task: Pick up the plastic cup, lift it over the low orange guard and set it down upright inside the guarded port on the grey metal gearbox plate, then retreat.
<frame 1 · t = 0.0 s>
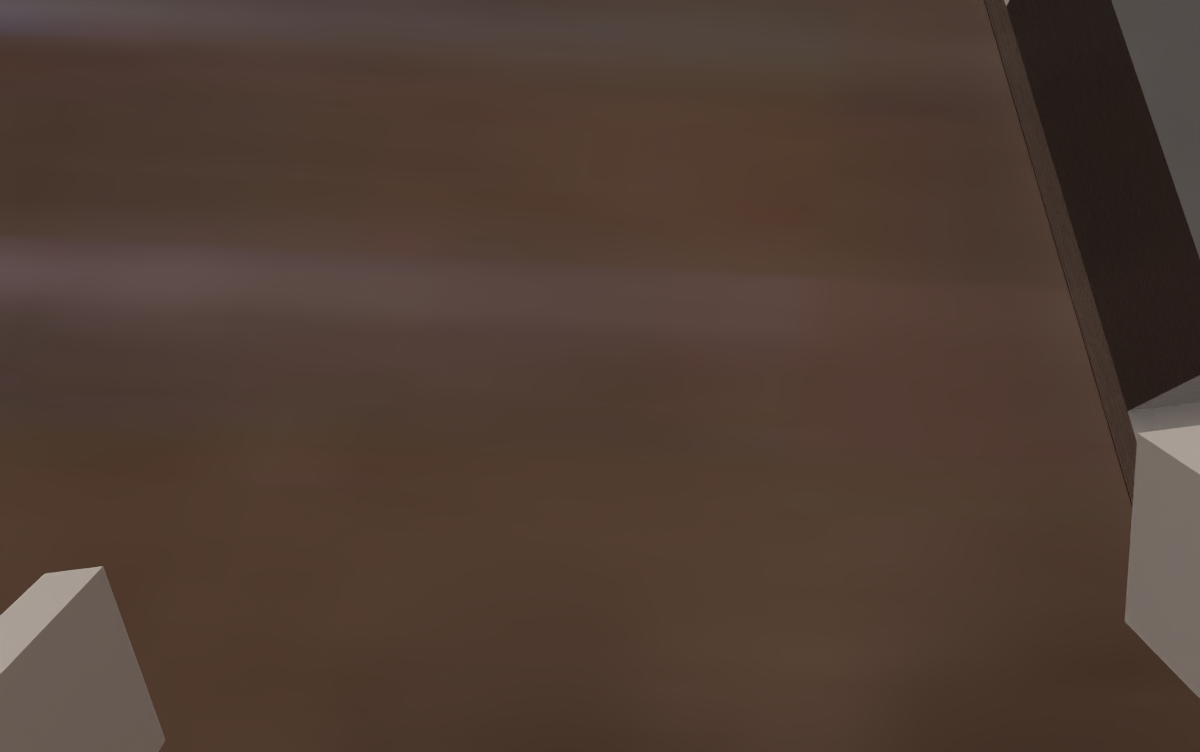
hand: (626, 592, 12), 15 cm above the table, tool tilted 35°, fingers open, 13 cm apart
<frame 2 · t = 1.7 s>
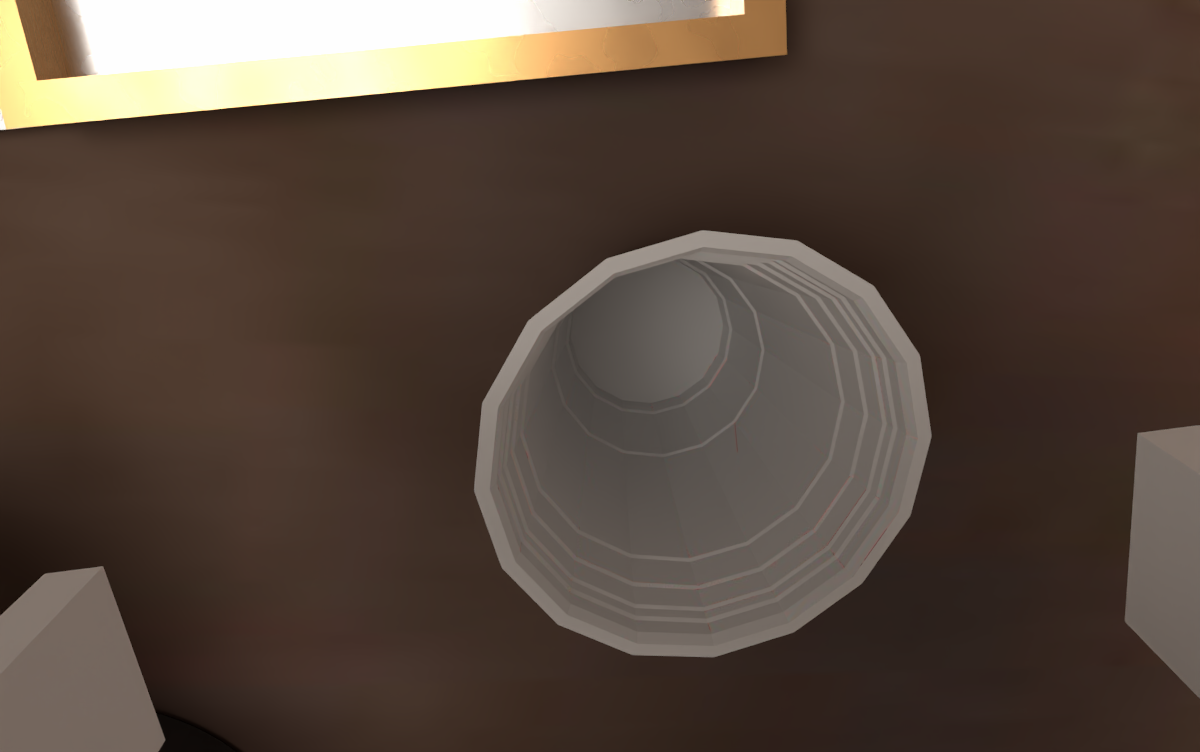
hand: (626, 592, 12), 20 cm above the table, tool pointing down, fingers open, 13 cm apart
plastic cup: (652, 330, 32), on the table
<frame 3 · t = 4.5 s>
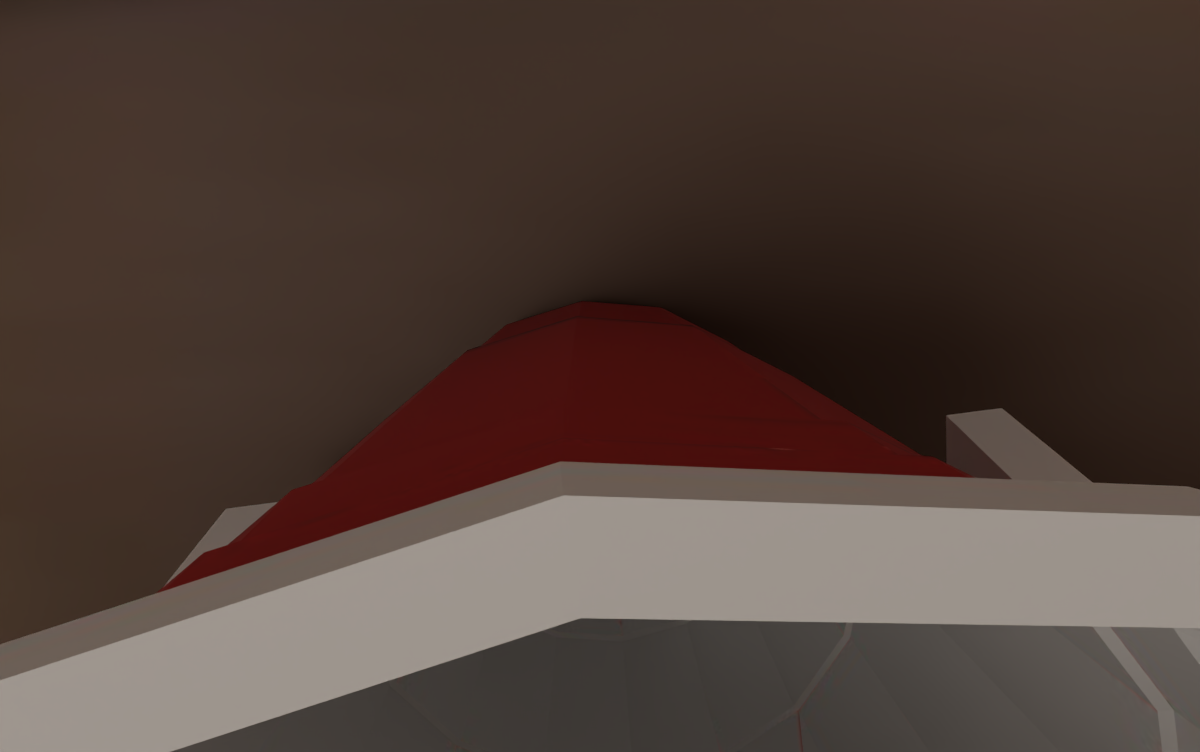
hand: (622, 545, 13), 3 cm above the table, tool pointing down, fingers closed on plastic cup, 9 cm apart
plastic cup: (615, 464, 15), on the table, touching gripper
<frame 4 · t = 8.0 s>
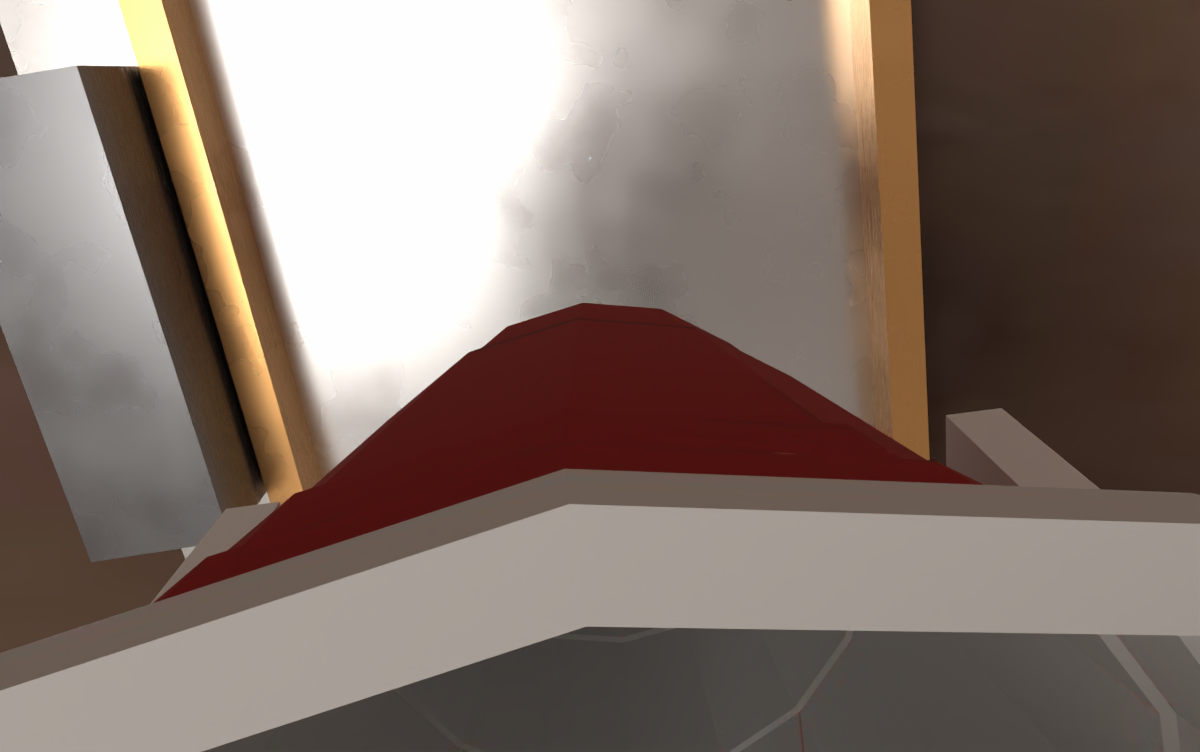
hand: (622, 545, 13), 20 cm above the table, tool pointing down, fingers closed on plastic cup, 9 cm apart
plastic cup: (616, 465, 15), point 17 cm above the table, touching gripper
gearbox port: (561, 225, 31), on the table
when the fingers open (4 cm above the table, at t = 11.4 s): plastic cup moves 3 cm, resting on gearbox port.
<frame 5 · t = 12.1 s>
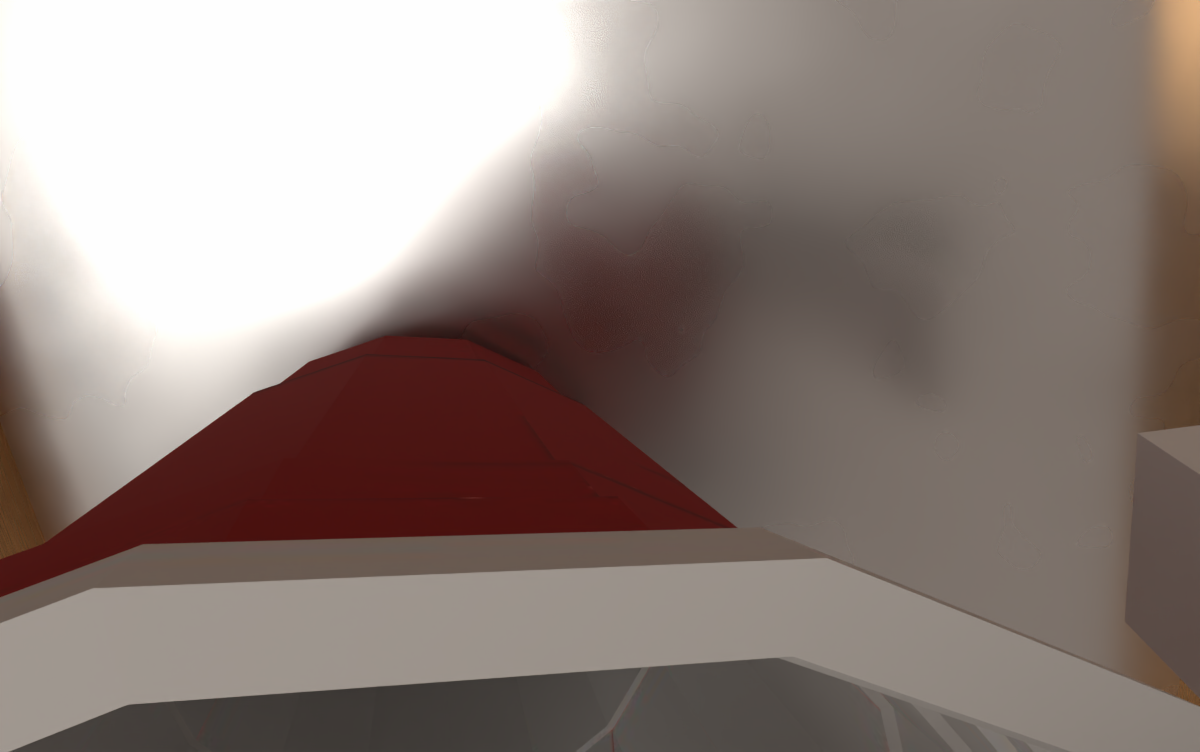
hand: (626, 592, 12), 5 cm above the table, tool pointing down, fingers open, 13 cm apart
plastic cup: (433, 496, 15), point 1 cm above the table, touching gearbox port, gripper
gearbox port: (613, 434, 17), on the table
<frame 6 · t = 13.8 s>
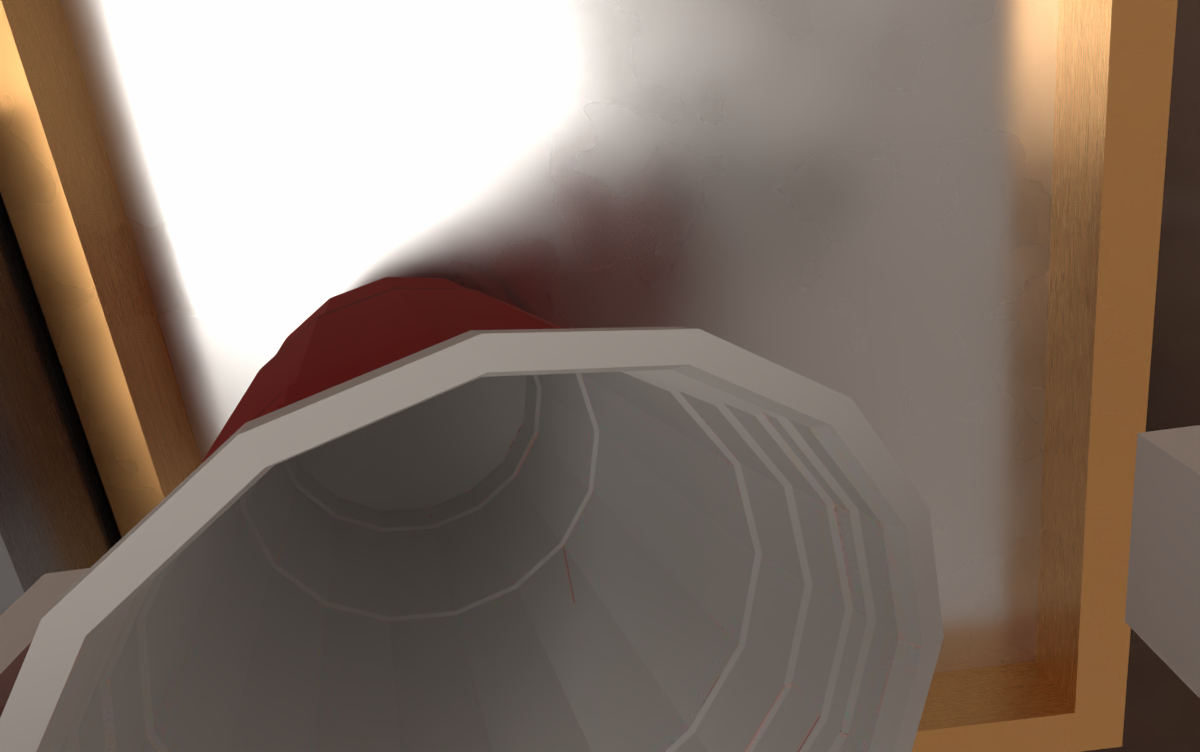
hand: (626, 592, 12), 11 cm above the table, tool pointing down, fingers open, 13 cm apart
plastic cup: (416, 398, 20), point 2 cm above the table, touching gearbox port
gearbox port: (609, 337, 22), on the table
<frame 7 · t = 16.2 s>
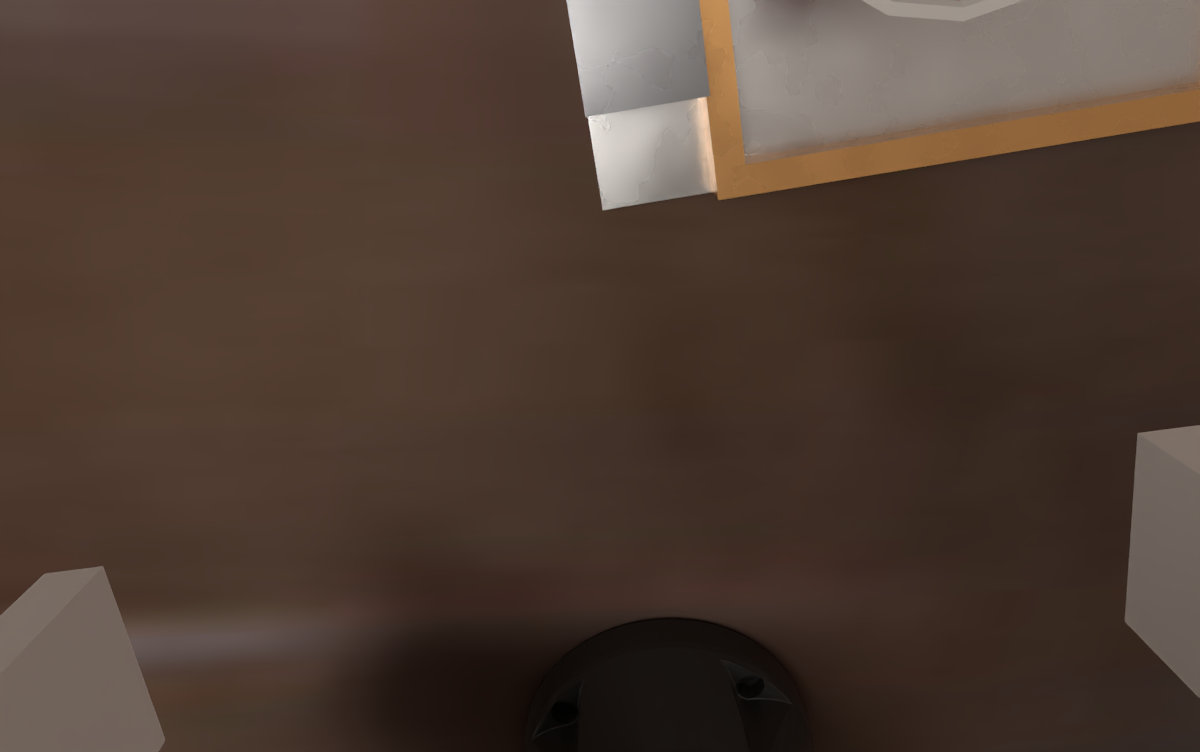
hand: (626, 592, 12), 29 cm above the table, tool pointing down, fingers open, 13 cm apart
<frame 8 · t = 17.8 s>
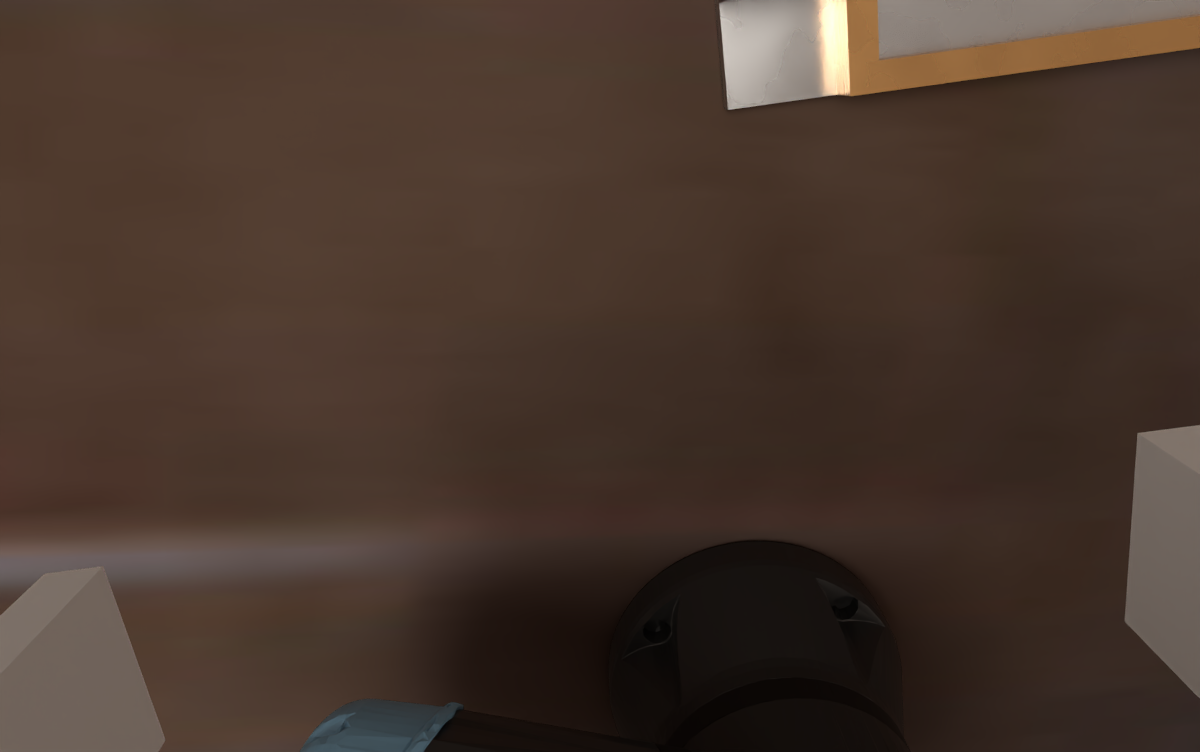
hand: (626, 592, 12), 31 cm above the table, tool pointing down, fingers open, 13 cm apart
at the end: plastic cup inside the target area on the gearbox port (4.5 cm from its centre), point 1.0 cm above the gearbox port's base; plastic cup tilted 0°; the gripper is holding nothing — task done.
